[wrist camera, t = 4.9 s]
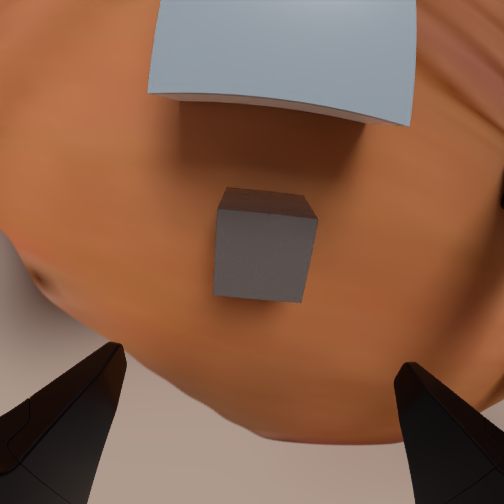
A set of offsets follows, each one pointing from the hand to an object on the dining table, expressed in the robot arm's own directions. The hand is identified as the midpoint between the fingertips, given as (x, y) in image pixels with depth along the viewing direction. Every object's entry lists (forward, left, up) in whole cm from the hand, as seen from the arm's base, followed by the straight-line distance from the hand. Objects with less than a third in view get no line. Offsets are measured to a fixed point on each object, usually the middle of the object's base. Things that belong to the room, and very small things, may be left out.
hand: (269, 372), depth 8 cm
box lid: (0, -19, -8) cm, 20 cm away
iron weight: (0, 0, -13) cm, 13 cm away
